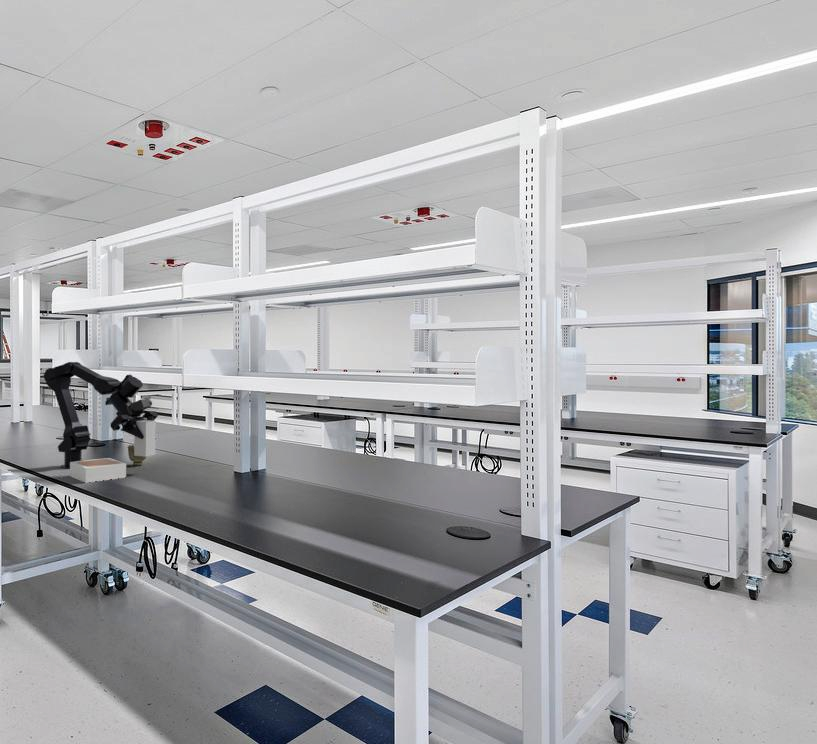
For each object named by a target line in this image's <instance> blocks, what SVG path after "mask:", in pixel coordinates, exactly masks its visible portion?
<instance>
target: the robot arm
mask: <svg viewBox="0 0 817 744" xmlns="http://www.w3.org/2000/svg"><path fill="white" fill-rule="evenodd" d="M73 377H77V378H79V379H80V380H83V381H85V382H86V383H88V384H90V385H91V386H92V387H93V388H94V390H95V391H96V392H97V393H99V394H100V395H110V396H108V397H106V398H105V399H106V400H105V405H106V406H109V405H112V406H113V408H114V409H115V410H116V413H115V414H116V415H117V416H116V417H115V418H114V419H113V420H112V421H111V422H110V428H111V429H112V431H114V432H116V431H119V430H120V431H121V432H124V433H127V434H129V435H131V436H136V437H138V438H140V439H143V438H144V436H143V434H142V433H141V431H140V430H139V428H138V427H137V425H136V421H142V420H151V421H156V419H157V418H158V416H159V413H158V412H157V411H156V410H149V411H146V412H145V410H147V409H150V408H152V407H151V406H152V405H153V402H152V400H151V399H150V398H149V397H145V398H144V399H138V400H137V401H135V402H132V401H131V400H130V399H129V398H133V397H134V396H135V395H136V394H137V393H138V392H139V391H140V390H141V389H142V387H143V386H144V385H143V382H142V381H141V380H140V379H138V378H137V377H135V376H133V375H132V374H126V375H125V377H124V378H123V380H122V381H120V380H119V379H116V378H113V377H109V376H104V375H102V374H100V373H98V372H96V371H94V370H92V369H90V368H88V367H86V366H84V365H82V363H80V362H78V361H69V362H68V361H67V362H65V363H63V364H60V365H58V366H54V367H48V368H47V369H46V370H45V372H44V374H43V378H44V381H45V383H46V385H47V386H48V387H49V388H50V390H52V391H53V392H54V396H55V398H56V402H57V406H58V408H59V410H60V411H59V412H60V414H61V417H62V421H63V424H64V430H63V433H62V437H63V439H62V441H61V442H60V443H59V444H58V446H57V449H58V452H59V453H64V454H63V456H64V458H63V459H64V464H60V467H62V468H65V469H70V462H75V461H83V460H82V459H83V458H82V456H83V455H82V451H83V450H84V451H85V450H87V449H88V445H89V443H90V441H91V437H90V436H91V433H90V431H89V427H88V425H83V424H82V423H80V419H79V417H78V413H77V409H76V407H75V404H74V401H73V397H72V394H71V391H70V386H71V382H72V379H71V378H73ZM144 412H145V413H144ZM120 425H121V426H120Z"/></svg>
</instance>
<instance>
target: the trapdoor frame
mask: <svg viewBox="0 0 817 744" xmlns="http://www.w3.org/2000/svg"><path fill="white" fill-rule="evenodd" d="M101 459H108V460H111V461H114V462H117V463H120V464H113V465H104V466H96V467H86V466H84V465H81V464H78V463H77V462H83V461H92V460H101ZM69 477H70V478H73V479H76V480H78V481H80V482H83V483H84V482H85V484H88V483H89V482H90V483H96V482H95V481H97V482H102V481H103V480H104V481H111V480H110V479H112V480H118V478H119V479H125V477H126V478H127V463H125V462H122V461H119V460H117V459H114V458H111V457H106V458H105V457H103V458H95V459H87V460H82V461H75V462H70V468H69ZM104 481H103V482H104ZM90 483H89V484H90Z"/></svg>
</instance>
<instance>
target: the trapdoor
mask: <svg viewBox="0 0 817 744" xmlns="http://www.w3.org/2000/svg"><path fill="white" fill-rule="evenodd" d="M100 459H101V460H94V459H91V460H92V461H85V460H82V461H83V462H77V463H78V464H81V465H84V466H86V467H96V466H104V465H113V464H120V463H117V462H114V461H111V460H108V459H103V458H100Z"/></svg>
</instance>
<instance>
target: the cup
mask: <svg viewBox="0 0 817 744" xmlns="http://www.w3.org/2000/svg"><path fill="white" fill-rule="evenodd" d="M127 453H128V459H129V461H131V462H132V465H133V466H135V467H140V466H139V465H141V466H143V463H144V461H145V460H146V458H147V457H148V456H146V457H145V456H134V443H133V444H129V445H127Z"/></svg>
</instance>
